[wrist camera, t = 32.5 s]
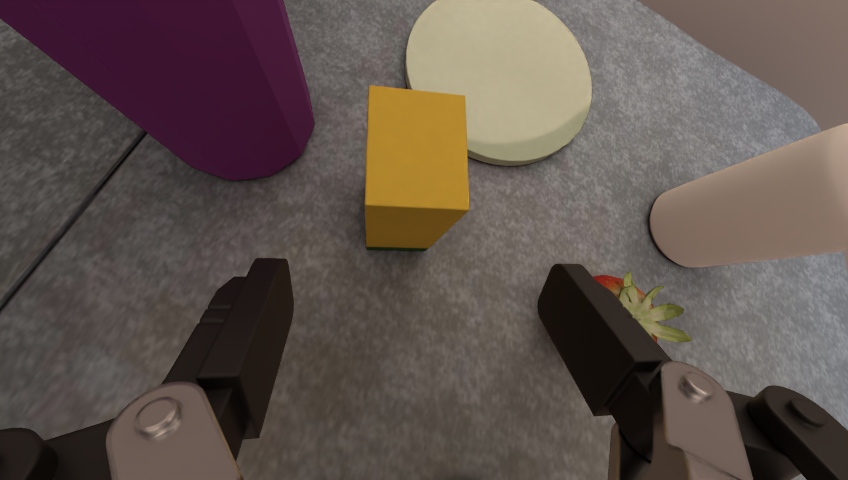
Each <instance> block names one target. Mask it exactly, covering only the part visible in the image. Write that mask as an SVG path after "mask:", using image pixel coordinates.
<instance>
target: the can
mask: <svg viewBox="0 0 848 480" xmlns="http://www.w3.org/2000/svg"><path fill="white" fill-rule="evenodd" d="M649 225H650V231H651V235H652V238H653V240H654V242H655V244H656V245H657V247H658V248H659V250H660V251H661V252H662V253H663V254H664V255H665V256H666V257H668V258H669V259H671V260H672V261H674V262H675V263H677V264H679V265H682V266H685V267H690V268H697V267H708V266H718V265H727V264H736V263H745V262H754V261H763V260H772V259H781V258H790V257H799V256H808V255H817V254H825V253H834V252H843V251H848V123H846V124H843V125H839V126H836V127H834V128H831V129H828V130H825V131H823V132H820V133H817V134H815V135H812V136H809V137H807V138H804V139H801V140H799V141H796V142H793V143H791V144H788V145H785V146H783V147H780V148H777V149H775V150H772V151H770V152H767V153H764V154H762V155H759V156H756V157H754V158H751V159H749V160H746V161H743V162H741V163H738V164H735V165H733V166H730V167H728V168H725V169H722V170H720V171H717V172H715V173H712V174H709V175H707V176H704V177H702V178H699V179H696V180H694V181H691V182H689V183H686V184H684V185H681V186H678V187H676V188H673V189H671V190H669V191H666V192H664V193H663V194H661V195H660V196H659V197H658V198H657V199H656V201H655V203H654V205H653V208H652V210H651V214H650V219H649Z"/></svg>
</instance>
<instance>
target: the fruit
mask: <svg viewBox="0 0 848 480" xmlns="http://www.w3.org/2000/svg"><path fill="white" fill-rule="evenodd" d="M593 278H594V279H595V280H597V281H598V282H599V283H601V284H602V285H604V286H605V287H606V288H608V289H609V290H610V291H612V292H613V293H614V295H615V296H616V297H617V298H618V299H619V300H620V301H621V303H622V304H623V307H626V308H627V309H628V311H629V312H630V313H631V314H632V315H633V316H632V317H633V318H635V319H636V320H637V321H638V322H639V323H640V324H641V325H642V327H643V328H644V329H645V330H646V331H647V332H648V334H649V335H650V336H651V337H652V338H653V339H654V340H655V342H656V343H657V337H659V338H661V339H664V340H666V341H674V342H688V341H692V339H691V338H690V337H689V336H688V335H687V334H686V333H685V332H684V331H682V330H679V329H675V328H671V327H668V326H664V325H659V324H657V321H662V320H668V319H671V318H674V317H677V316H679V315H680V314H682V313H683V311H684V309H683V308H682V307H680V306H677V305H674V304H663V305H659V306H657V307H655V308H654V307H653V305H652V303H651V302H652V300H653V298H654V297H655V295H656V294H657V293H658V291H659V290H660V289H662V288H663V286H658V287H656V288H654V289H653V290H651V291H650V292H648V293H647V294H646V296H645V294H644V293H643V292H642V291H640V290H639V289H638V288H636V286H635V284H634V282H633V280H632V277H631V273H630V271H629V272H627V274H626V275H625V276H624V278H623V280H622V279H620V278H616V277H612V276H608V275H600V276H595V277H593Z"/></svg>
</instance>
